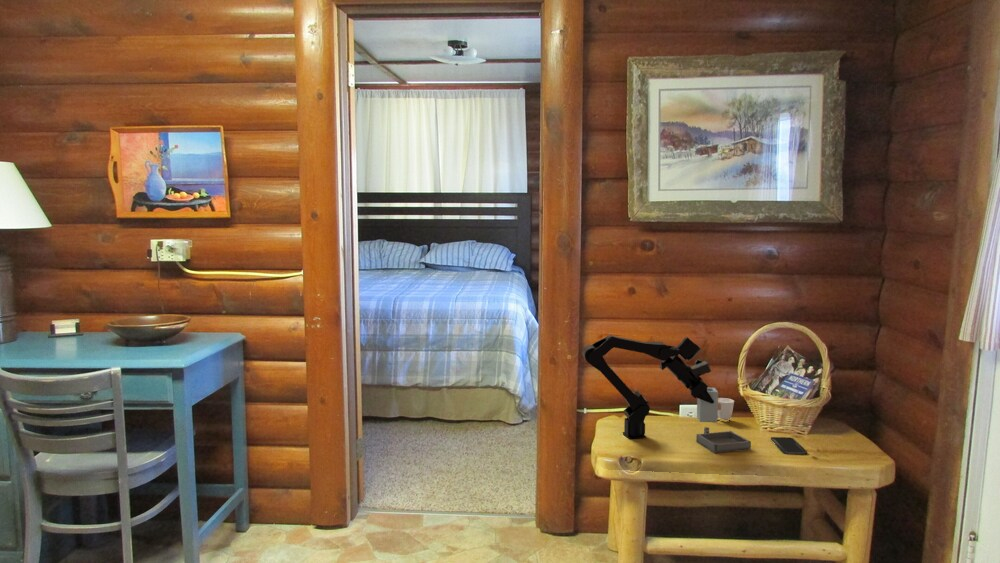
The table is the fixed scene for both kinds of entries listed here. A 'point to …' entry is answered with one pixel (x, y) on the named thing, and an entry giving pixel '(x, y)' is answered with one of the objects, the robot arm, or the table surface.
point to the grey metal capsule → (706, 430)
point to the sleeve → (708, 407)
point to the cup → (725, 408)
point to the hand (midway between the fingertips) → (711, 400)
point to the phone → (789, 446)
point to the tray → (723, 442)
